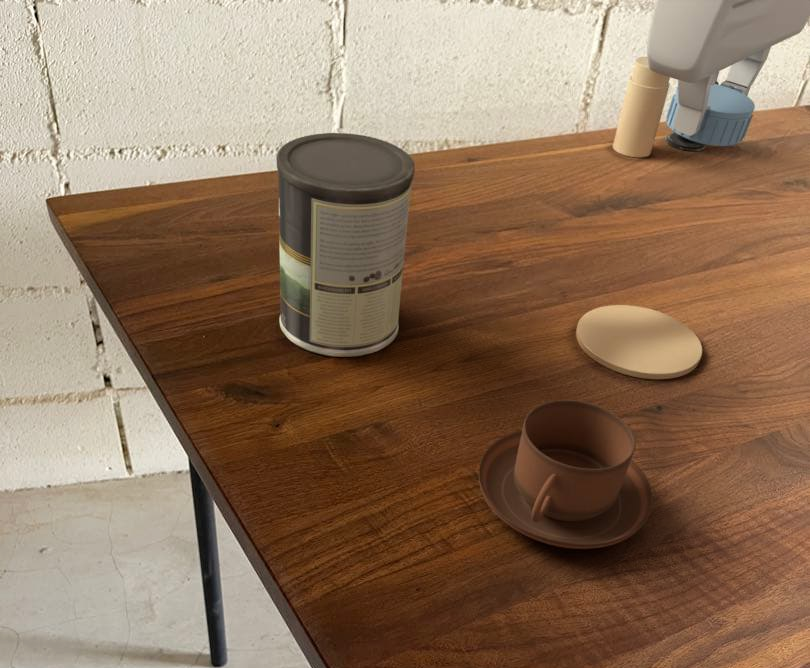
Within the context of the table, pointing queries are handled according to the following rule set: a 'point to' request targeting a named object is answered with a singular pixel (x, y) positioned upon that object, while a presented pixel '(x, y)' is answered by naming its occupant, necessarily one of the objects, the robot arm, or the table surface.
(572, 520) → the cup and saucer
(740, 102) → the lid
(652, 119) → the jar
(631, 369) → the coaster
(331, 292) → the coffee can
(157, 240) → the table surface
